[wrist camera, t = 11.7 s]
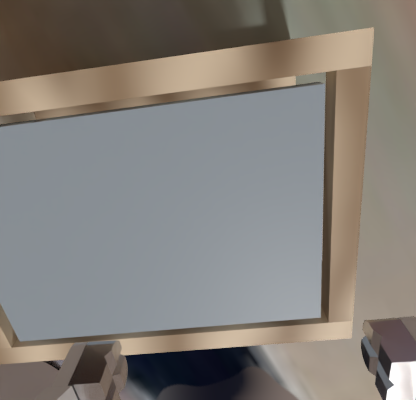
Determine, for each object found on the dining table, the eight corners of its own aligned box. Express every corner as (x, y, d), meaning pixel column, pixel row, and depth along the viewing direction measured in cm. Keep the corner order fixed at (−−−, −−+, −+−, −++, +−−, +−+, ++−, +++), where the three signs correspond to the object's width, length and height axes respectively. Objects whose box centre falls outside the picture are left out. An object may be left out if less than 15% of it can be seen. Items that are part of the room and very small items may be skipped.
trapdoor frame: (85, 240, 38) (-1, 364, 23) (31, 78, 30) (-150, 102, 15) (294, 219, 36) (351, 338, 21) (291, 41, 29) (374, 27, 14)
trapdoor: (44, 305, 25) (19, 341, 22) (-36, 124, 19) (-84, 138, 16) (306, 282, 23) (320, 317, 20) (305, 78, 18) (324, 83, 14)
